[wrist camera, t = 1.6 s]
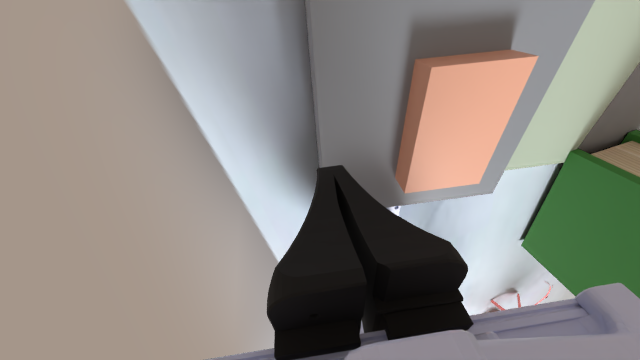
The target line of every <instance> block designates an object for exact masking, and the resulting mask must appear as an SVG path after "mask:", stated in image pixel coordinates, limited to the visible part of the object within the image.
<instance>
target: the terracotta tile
mask: <svg viewBox="0 0 640 360" xmlns="http://www.w3.org/2000/svg"><path fill="white" fill-rule="evenodd" d="M538 57H539V56H536V55H532V54H528V53H524V52H520V51H516V50H511V49H510V50H500V51H491V52H481V53H471V54H462V55H452V56H443V57H433V58H423V59H415V64H414V69H413V75H412V81H411V87H410V93H409V99H408V105H407V110H406V116H405V122H404V128H403V134H402V140H401V146H400V151H399V157H398V163H397V169H396V175H395V179H396V180H397V182H398V184H399V185H400V187H401V188H402V190H403V192H404V193H412V192H420V191H427V190H435V189H442V188H450V187H457V186H465V185H472V184H479V183H480V181H481V178H482V176H483V174H484V172H485V170H486V168H487V166H488V163H489V161H490V159H491V157H492V155H493V153H494V151H495V149H496V146H497V144H498V142H499V140H500V138H501V136H502V134H503V131H504V129H505V127H506V125H507V123H508V121H509V119H510V116H511V114H512V112H513V110H514V108H515V106H516V104H517V102H518V99H519V97H520V95H521V93H522V91H523V89H524V87H525V84H526V82H527V80H528V78H529V76H530V74H531V72H532V70H533V67H534V65H535V63H536V61H537V59H538Z"/></svg>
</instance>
